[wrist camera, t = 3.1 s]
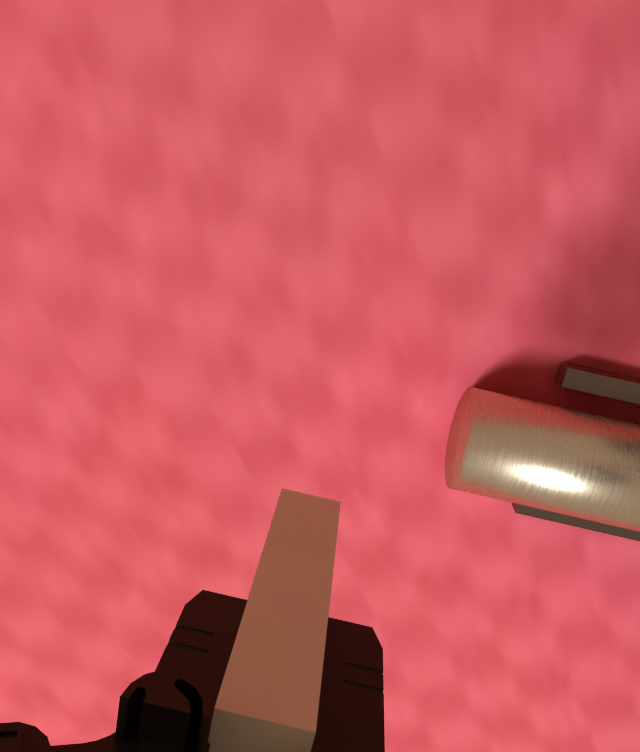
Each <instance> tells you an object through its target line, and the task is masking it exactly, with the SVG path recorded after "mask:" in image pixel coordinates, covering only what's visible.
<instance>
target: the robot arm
mask: <svg viewBox="0 0 640 752" xmlns="http://www.w3.org/2000/svg"><path fill="white" fill-rule="evenodd" d="M339 512H340V502H339V501H335V500H330V499H326V498H322V497H317V496H313V495H308V494H304V493H300V492H295V491H291V490H286V489H282V490H281V493H280V496H279V500H278V503H277V506H276V509H275V513H274V516H273V519H272V522H271V526H270V529H269V532H268V535H267V539H266V542H265V545H264V548H263V552H262V555H261V558H260V561H259V565H258V568H257V571H256V574H255V578H254V581H253V584H252V587H251V591H250V594H249V597H248V600H244V599H240V598H235V597H231V596H227V595H223V594H218V593H214V592H210V591H205V590H202V591H201V592H200V593H199V594H198V595H196V596H195V597H194V598H193V599H192V600H190V601H189V602H188V603H187V604H186V605H185V607H184V609H183V611H182V613H181V615H180V618H179V620H178V622H177V624H176V628H175V629H174V631H173V633H172V635H171V637H170V640H169V643H168V645H167V646H166V648H165V651H164V653H163V655H162V657H161V659H160V662H159V664H158V666H157V668H156V670H155V672H152V673H148V674H145V675H143V676H142V677H140V678H138V679H137V680H135V681H134V682H132V683H130V685H129V686H128V687H127V689H126V690H125V691H124V692H123V694H122V695H121V696H120V702H119V710H118V718H117V726H116V732H115V733H113V734H112V735H110V736H107V737H105V738H102V739H100V740H97V741H93V742H87V743H82V744H70V745H58V746H50V744H49V741H48V738H47V736H46V735H45V734H43V733H42V732H41V731H40V730H39V729H38V728H37V727H35V726H31V725H28V724H24V723H21V722H12V723H0V752H385V748H384V694H383V675H382V674H383V648H382V646H381V644H380V642H379V640H378V638H377V636H376V634H375V632H374V630H373V628H372V627H368V626H364V625H359V624H355V623H351V622H347V621H342V620H338V619H334V618H329V617H328V614H329V605H330V596H331V586H332V577H333V568H334V558H335V549H336V540H337V530H338V521H339Z"/></svg>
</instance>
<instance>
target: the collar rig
mask: <svg viewBox="0 0 640 752" xmlns="http://www.w3.org/2000/svg"><path fill="white" fill-rule="evenodd" d="M555 381H556V382H557V383H558V384H559V385H560V386H561V387H564V388H568V389H573V390H577V391H582V392H586V393H591V394H595V395H600V396H604V397H609V398H613V399H618V400H622V401H627V402H631V403H636V404H640V379H637V378H632V377H628V376H623V375H619V374H614V373H610V372H605V371H601V370H596V369H592V368H587V367H583V366H578V365H574V364H569V363H565V362H562V363H561V366H560V369H559V372H558V374H557V377H556V380H555ZM512 505H513V508H514V510H515V512H516V513H519V514H523V515H528V516H532V517H536V518H541V519H545V520H549V521H554V522H558V523H562V524H567V525H571V526H576V527H580V528H584V529H589V530H593V531H597V532H602V533H606V534H610V535H615V536H619V537H624V538H628V539H632V540H637V541H640V532H638V531H634V530H630V529H625V528H621V527H617V526H612V525H608V524H603V523H599V522H595V521H590V520H586V519H582V518H577V517H573V516H569V515H564V514H560V513H555V512H551V511H547V510H542V509H538V508H534V507H529V506H525V505H520V504H516V503H512Z"/></svg>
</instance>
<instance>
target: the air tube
mask: <svg viewBox="0 0 640 752" xmlns="http://www.w3.org/2000/svg"><path fill="white" fill-rule="evenodd" d="M445 482H446V485H447V487H448V488H450V489H455V490H459V491H464V492H468V493H472V494H477V495H481V496H485V497H490V498H494V499H499V500H503V501H507V502H512V503H516V504H520V505H525V506H529V507H534V508H538V509H542V510H547V511H551V512H555V513H560V514H564V515H569V516H573V517H577V518H582V519H586V520H590V521H595V522H599V523H603V524H608V525H612V526H617V527H621V528H625V529H630V530H634V531H638V532H640V425H639V424H634V423H630V422H625V421H621V420H617V419H612V418H608V417H603V416H599V415H594V414H590V413H585V412H581V411H576V410H572V409H567V408H563V407H559V406H554V405H550V404H545V403H541V402H536V401H532V400H527V399H523V398H518V397H514V396H509V395H505V394H500V393H496V392H492V391H487V390H483V389H478V388H474V387H468V388H467V389H466V390H465V392H464V393H463V395H462V397H461V399H460V401H459V403H458V406H457V408H456V411H455V414H454V417H453V420H452V424H451V428H450V432H449V437H448V442H447V448H446V456H445Z"/></svg>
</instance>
